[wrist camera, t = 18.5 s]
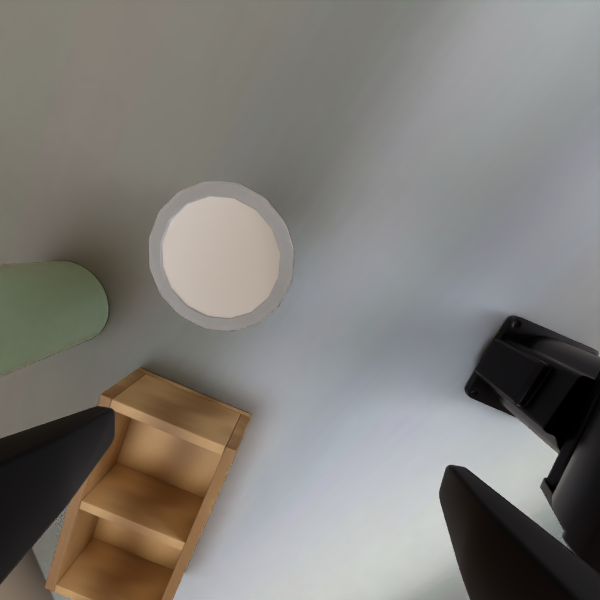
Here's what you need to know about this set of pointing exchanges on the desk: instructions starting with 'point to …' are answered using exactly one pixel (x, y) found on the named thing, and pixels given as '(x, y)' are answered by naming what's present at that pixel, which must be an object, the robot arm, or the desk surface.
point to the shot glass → (221, 255)
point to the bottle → (47, 310)
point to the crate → (146, 492)
